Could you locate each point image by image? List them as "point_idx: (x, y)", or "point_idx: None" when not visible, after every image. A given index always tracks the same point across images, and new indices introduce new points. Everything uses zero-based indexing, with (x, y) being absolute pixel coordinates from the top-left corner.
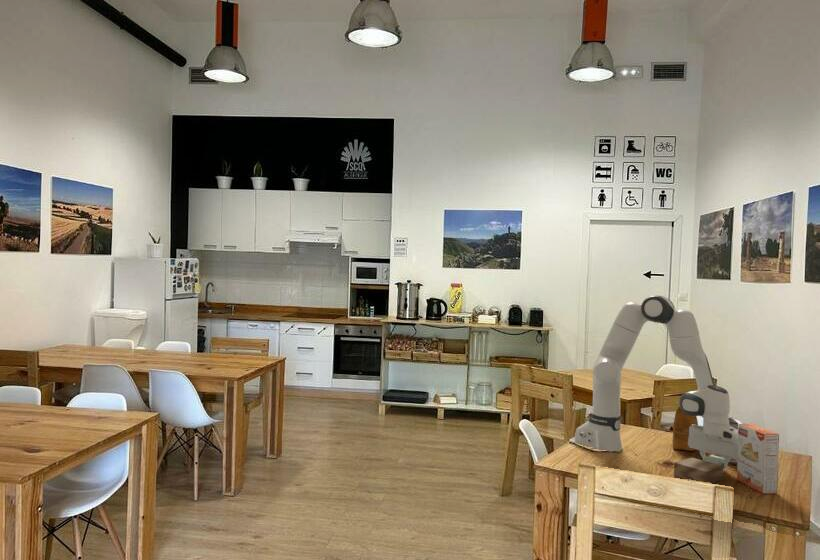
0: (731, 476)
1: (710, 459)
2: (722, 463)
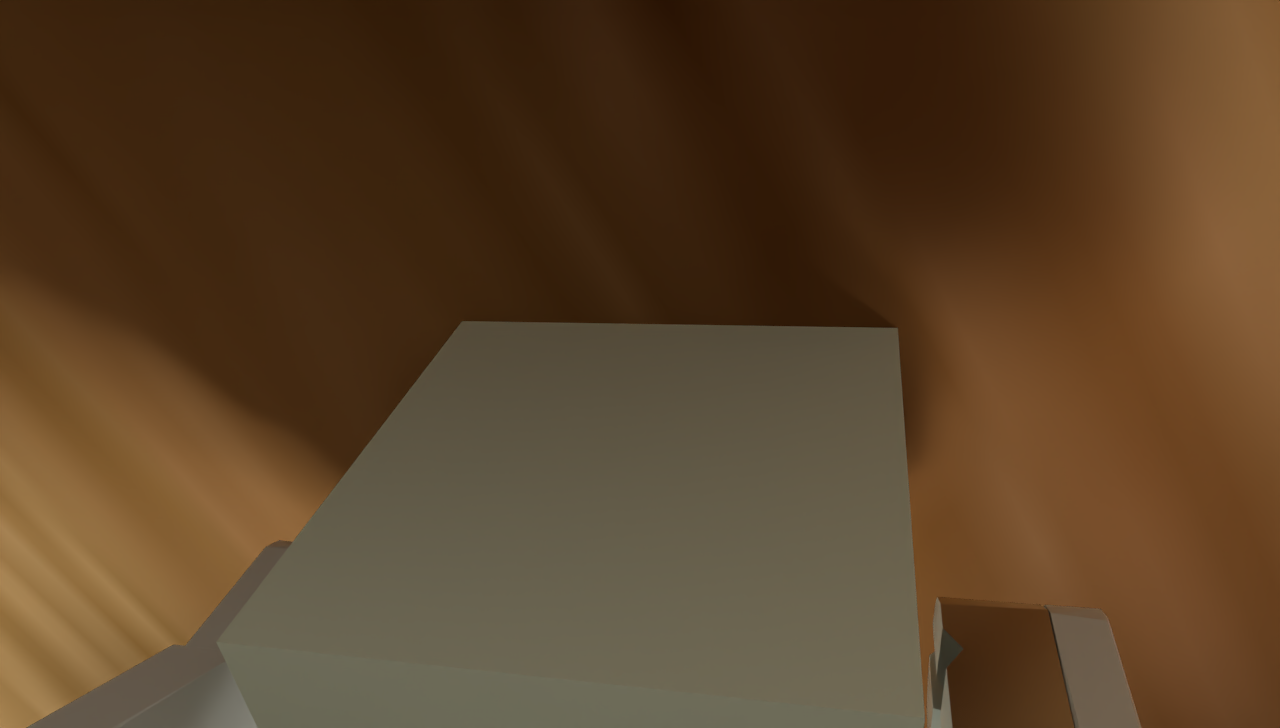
0: (169, 377)
1: (622, 637)
2: None
